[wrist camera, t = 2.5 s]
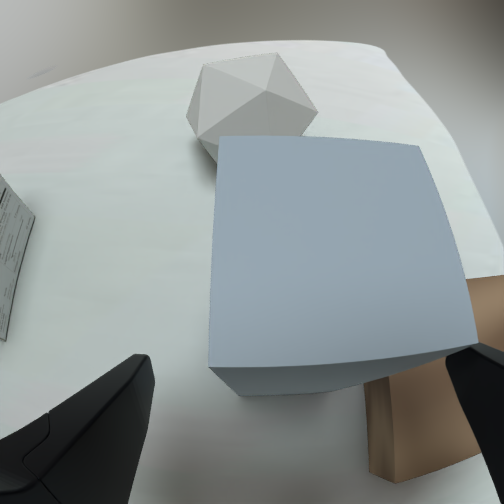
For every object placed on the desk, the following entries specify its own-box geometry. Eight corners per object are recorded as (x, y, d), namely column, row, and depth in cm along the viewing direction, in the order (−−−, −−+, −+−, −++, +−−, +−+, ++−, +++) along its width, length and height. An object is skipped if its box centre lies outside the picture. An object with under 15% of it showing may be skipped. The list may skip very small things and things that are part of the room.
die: (283, 115, 28) (215, 37, 21) (355, 126, 21) (281, 15, 15) (226, 183, 27) (144, 110, 21) (288, 213, 21) (184, 109, 15)
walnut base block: (493, 429, 15) (531, 426, 11) (367, 471, 14) (395, 483, 11) (474, 297, 19) (507, 274, 16) (353, 311, 19) (375, 287, 15)
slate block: (329, 391, 16) (478, 343, 5) (238, 395, 16) (208, 367, 5) (323, 307, 19) (418, 145, 7) (238, 309, 19) (219, 135, 7)
